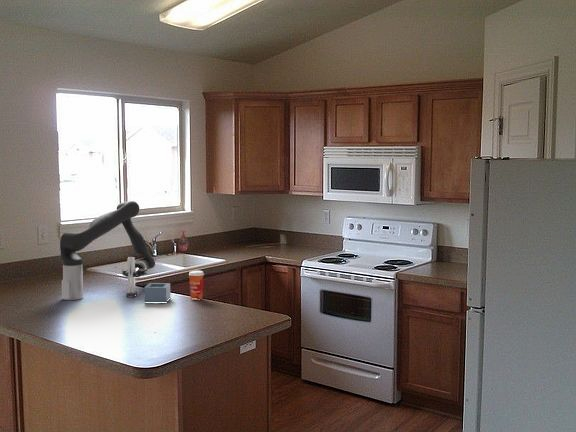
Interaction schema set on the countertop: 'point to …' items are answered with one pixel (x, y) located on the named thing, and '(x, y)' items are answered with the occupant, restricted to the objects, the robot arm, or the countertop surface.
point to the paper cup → (196, 284)
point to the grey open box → (157, 292)
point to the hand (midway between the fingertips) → (130, 274)
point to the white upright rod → (131, 277)
